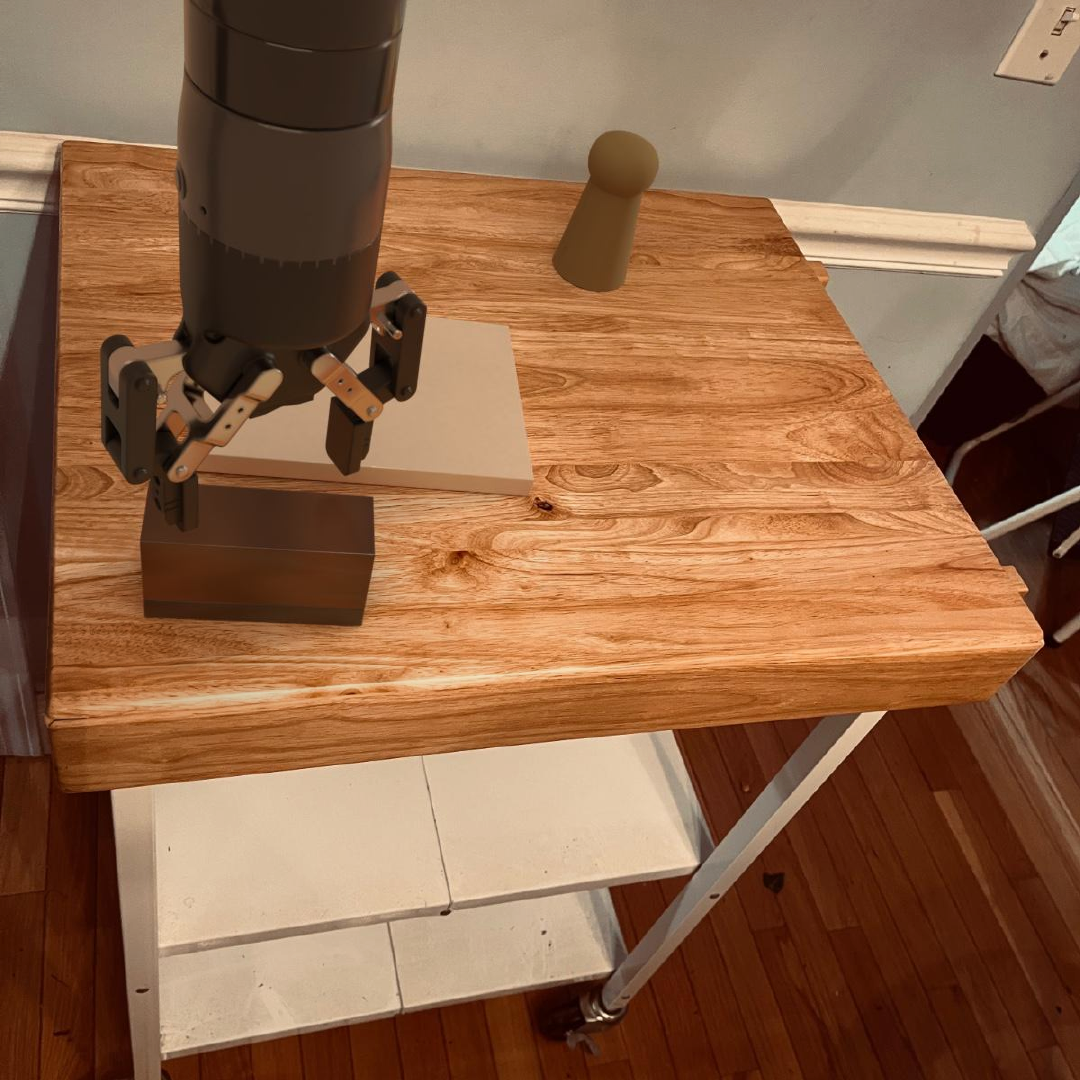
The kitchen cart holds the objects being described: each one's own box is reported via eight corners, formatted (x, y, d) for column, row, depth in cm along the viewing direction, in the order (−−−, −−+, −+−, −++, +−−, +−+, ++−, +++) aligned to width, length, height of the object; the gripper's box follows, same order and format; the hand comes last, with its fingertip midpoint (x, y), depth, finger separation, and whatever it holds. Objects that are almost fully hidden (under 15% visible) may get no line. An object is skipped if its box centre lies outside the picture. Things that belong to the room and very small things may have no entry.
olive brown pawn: (614, 248, 88) (657, 123, 80) (634, 294, 84) (680, 168, 76) (544, 242, 86) (581, 114, 78) (562, 289, 82) (602, 159, 74)
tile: (192, 471, 61) (192, 452, 60) (211, 308, 71) (211, 290, 70) (528, 496, 67) (534, 480, 65) (504, 341, 76) (509, 325, 75)
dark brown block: (143, 617, 54) (139, 541, 50) (152, 557, 57) (149, 479, 52) (361, 626, 57) (375, 555, 53) (360, 568, 60) (373, 495, 55)
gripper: (142, 292, 34) (157, 598, 46) (493, 217, 42) (429, 495, 54) (48, 167, 38) (85, 483, 49) (391, 118, 45) (352, 401, 57)
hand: (265, 489), depth 52 cm, fingers open, 8 cm apart
